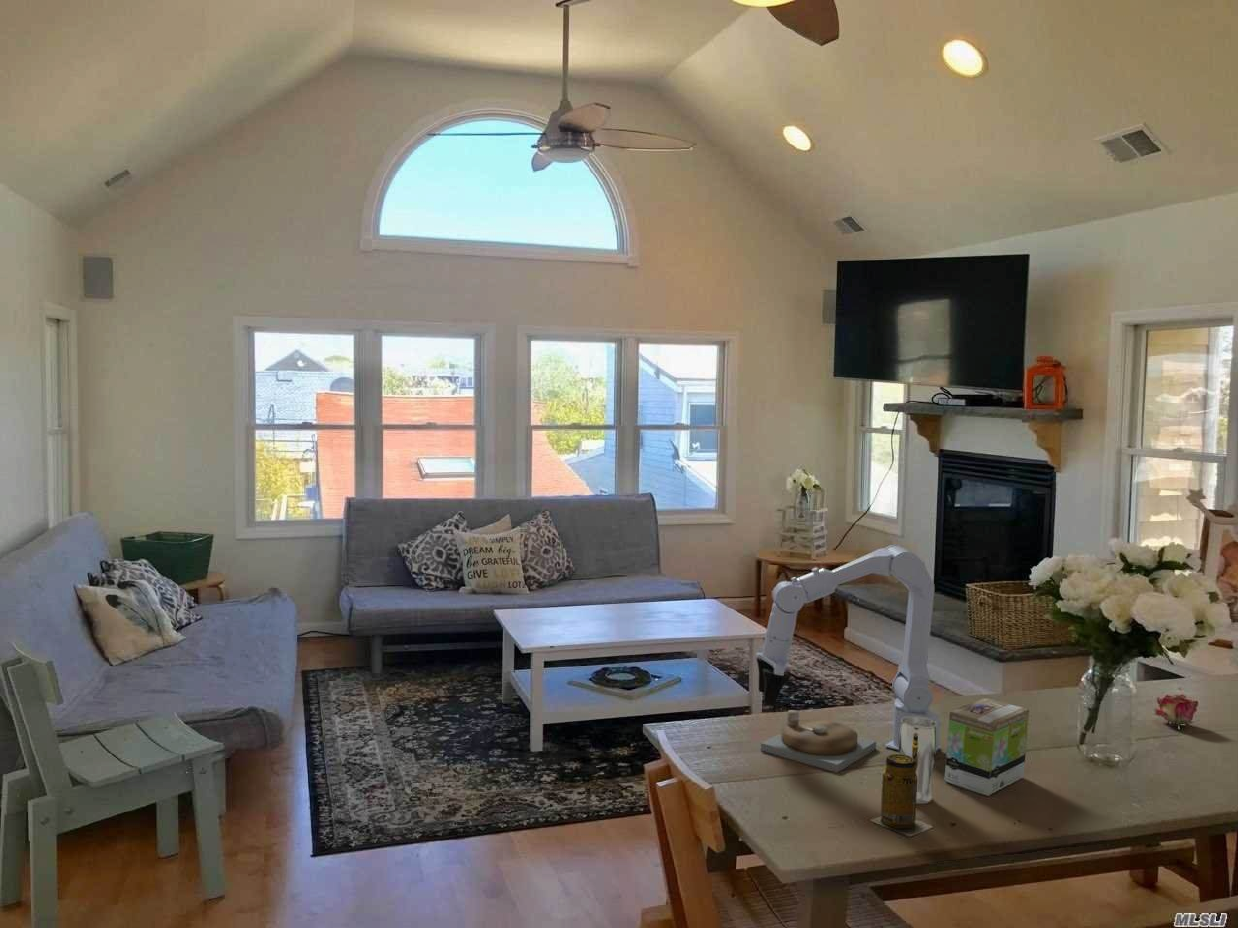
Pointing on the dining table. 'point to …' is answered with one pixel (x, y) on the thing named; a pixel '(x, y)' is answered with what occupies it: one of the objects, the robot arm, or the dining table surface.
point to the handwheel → (818, 736)
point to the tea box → (986, 745)
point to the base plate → (821, 761)
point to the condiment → (900, 796)
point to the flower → (1176, 709)
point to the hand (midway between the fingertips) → (766, 697)
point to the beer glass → (920, 750)
